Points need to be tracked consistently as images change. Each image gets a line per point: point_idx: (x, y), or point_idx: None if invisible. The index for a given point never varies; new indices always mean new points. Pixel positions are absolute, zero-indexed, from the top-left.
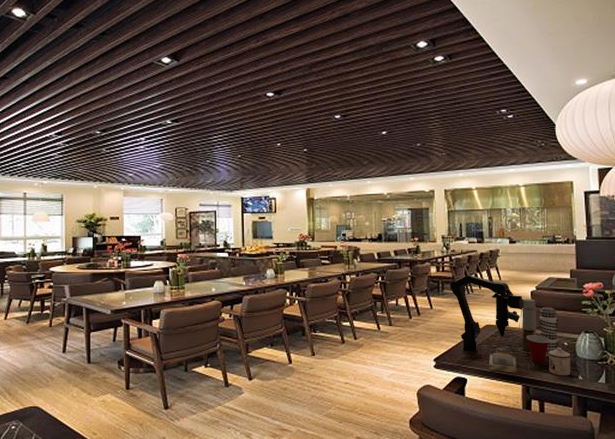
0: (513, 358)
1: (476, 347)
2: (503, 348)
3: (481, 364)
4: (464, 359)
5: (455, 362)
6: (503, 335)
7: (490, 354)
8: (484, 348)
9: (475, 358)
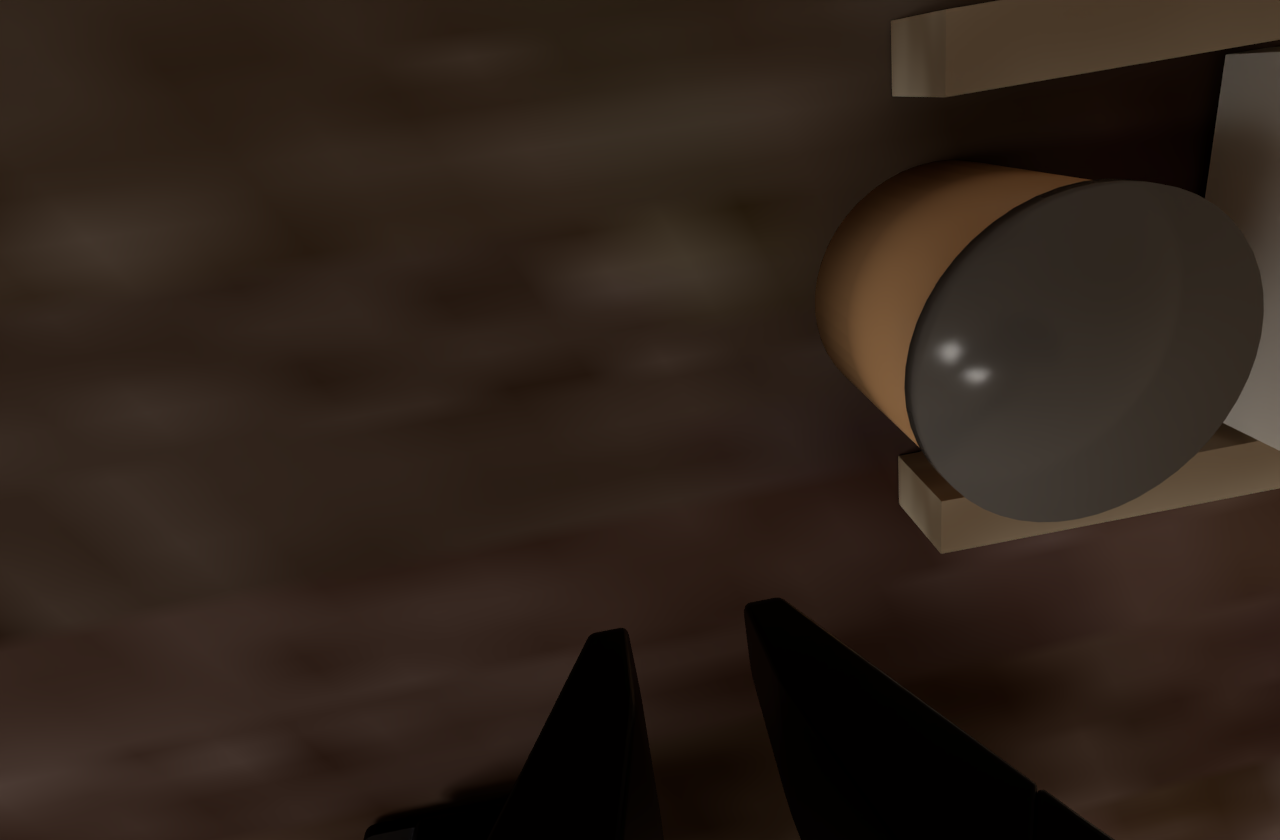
0: (1106, 36)
1: (464, 836)
2: (973, 360)
3: (1252, 542)
4: (1064, 776)
5: (1238, 814)
6: (805, 618)
7: (952, 543)
8: (229, 730)
9: (954, 684)
